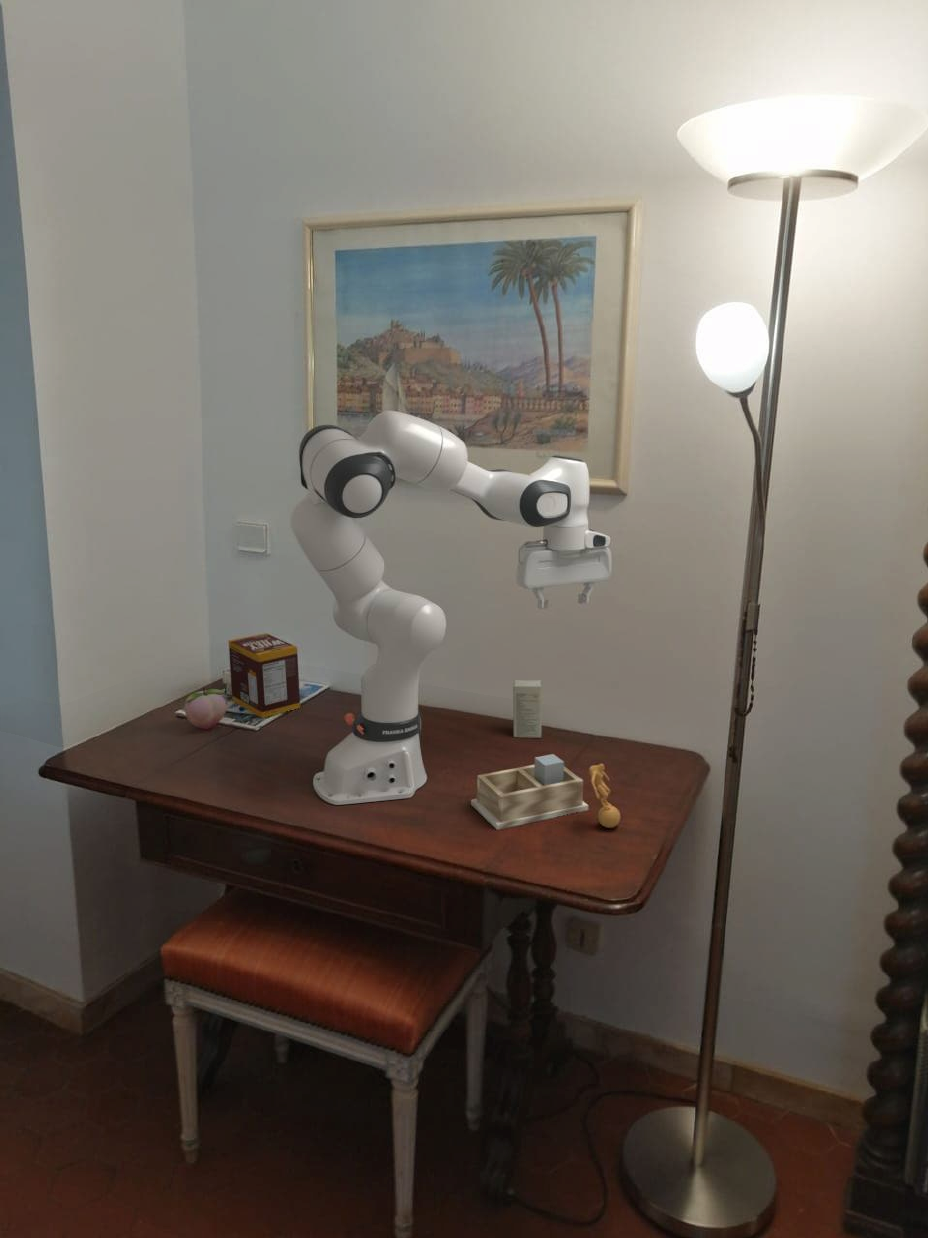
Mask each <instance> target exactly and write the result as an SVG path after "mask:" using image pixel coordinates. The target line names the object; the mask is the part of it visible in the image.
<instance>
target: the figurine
mask: <svg viewBox="0 0 928 1238" xmlns="http://www.w3.org/2000/svg"><path fill="white" fill-rule="evenodd" d="M605 769H606V768H605V765H604V764H603V763H599V764H597V765H591V766H590V767H589V768H588V772H589V775H590V777H591V779H590V783H591V786H592V788H593V790H594V792H595V796H596V799H597V800H600V804H601V805H602V807H601V808H600V809H599V811H598V813H597V819H598V820H597V821H598V822H599V824H601V826H602V827H605V828H608V829H611V828H615V827H616V826H617V825H618V824H619V823H620V821H621V813H620V810H619V809H618V808H617V807H615V806H613V805H612V803H610V802H608V800H607V799H608V798H609V795H610V793H611V790H610V788H609V787H608V786H607V785H606V783H605V782H604V780H603V778H604V777H605V778H606V780H607V781H608V782H609V781H610V778H609V776H608V775H607V774H606V772H605V771H604V770H605ZM601 795H602V797H601Z"/></svg>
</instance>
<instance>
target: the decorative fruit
mask: <svg viewBox="0 0 928 1238" xmlns="http://www.w3.org/2000/svg"><path fill="white" fill-rule="evenodd" d="M221 694H226V692H224V691H223V690H222V689H217V688H210V689H207V690H205V687H202V690H201V691H196V692H194V693H192V694H190V695H188V697H187V698H186V699H185V700H184V713H185V716H186V718H187V720H188V721H189V723H191V725H192V726H194V727H196V728H199V729H203V730H209V729H211V728H213V727H214V726H216V725H217V724H219V722H220V721H221V720H222V719H223V718H224V717H225V714H226V712H227V709H228V708H227V701H226V699H225V697H223V695H221Z"/></svg>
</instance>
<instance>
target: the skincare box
mask: <svg viewBox="0 0 928 1238" xmlns="http://www.w3.org/2000/svg"><path fill="white" fill-rule="evenodd" d="M542 686H543V685H542V680H538V679H536V680H535V679H533V680H532V679H514V681H513V685H512V687H513V688H512V690H513V693H512V698H513V699H512V700H513V704H512V705H513V707H512V709H513V737H514V738H535V739H537V738H542V726H543V725H542V723H543V721H542V715H543V714H542V712H543V710H542V707H543V706H542V705H543V704H542V700H543V699H542V698H543V697H542V694H543V692H542Z"/></svg>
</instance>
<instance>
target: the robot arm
mask: <svg viewBox="0 0 928 1238" xmlns="http://www.w3.org/2000/svg"><path fill="white" fill-rule="evenodd" d="M467 449H468V448H467V446H466V444H465V442H464V441H463V440H462V439H461V438H459V437H458V436H457V435H455V434H454V433H452V432H450V431H449V430H448V429H446V428H444V427H443V426H440V425H438V424H435V423H433V422H431V421H429V420H427V419H424V418H422V417H418V416H415V415H411V414H409V413H405V412H401V411H395V410H385V411H382V412H380V413H378V414H376V415H375V416H374V417H373V418H372V419H371V420H370V422H369V424H368V425H367V428H366V430H365V432H364V433H363V434H362V435H359V436H357V437H356V438H355V437H354V436H353V435H352V434H351V433H350V431H348V430H346V429H344V428H342V427H341V426H337V425H333V424H322V425H318V426H315V427H313V428H311V429H310V430H309V431H307V432H306V433H305V434H304V436H303V438H302V440H301V442H300V443H299V449H298V450H299V451H298V461H299V467H300V483H301V486H302V487H303V488H305V489H306V490H307V494H306V496H305V497H304V498H303V499H301V500H300V501H299V502H298V503H297V504H296V505H295V506H294V508H293V510H292V512H291V515H290V520H289V521H290V528H291V531H292V533H293V535H294V537H295V540H296V541H297V544H298V545H299V547H300V549H301V551H302V552H303V554H304V555H305V557H306V558H307V560H308V562H309V563H310V565H311V566H312V568H314V570H315V571H316V572H317V574H318V575H319V576H320V577H321V579H322V581H323V582H324V583H325V585H326V586H327V587H328V589H329V590H330V591H331V594H333V597H334V600H333V601H334V602H333V604H332V605H333V606H332V616H333V617H332V618H333V620H334V623H335V624H336V625H337V626H338V628H339V629H340V630H342V631H343V632H345V633H347V635H348V634H349V636H352V637H353V638H355V639H357V640H360V641H364V642H368V643H371V644H375V645H376V647H377V649H378V652H377V658H376V662H375V663H373V664H372V665H370V666H369V667H368V668H367V669H365V671H364V672H363V674H362V675H361V678H360V683H361V684H360V688H361V692H360V693H361V696H360V698H361V711H360V713H359V714H358V715H357V716H355V715H354V714H353V713H352V712H348V713H346V714H345V716H344V721H345V723H347V724H348V725H349V726H352V732H351V733H350V734H348V735H347V736H346V737H345V738H344V739H342V740H341V741H340V742H339V743H338V744H336V746H334V747H333V748H331V749H330V750H329V751H328V753H327V755H326V758H325V760H324V768H323V771H320V772H317V773H315V775H314V776H313V778H312V779H313V780H312V786H313V789H314V791H315V792H316V794H317V795H318V797H320V798H321V799H322V800H323V801H325V802H327V803H329V804H332V805H335V806H342V805H350V804H351V805H352V804H361V803H363V804H364V803H371V802H381V801H390V800H392V801H393V800H401V799H410V798H412V797H413V796H414V794H415V793H416V791H417V790H419V788H421V787H422V786H424V785H425V784H426V782H427V780H428V775H427V773H426V769H425V766H424V762H423V757H422V750H421V743H420V739H421V736H422V735H421V734H422V733H421V731H422V720H421V711H420V710H419V683H420V682H419V680H420V673H421V670H422V667H423V664H424V662H425V660H426V659H427V656H429V654H431V653H432V652H434V651H435V650H436V649H437V648H438V647H439V646H440V645H441V644H442V642H443V640H444V638H445V634H446V630H447V619H446V614H445V612H444V611H443V609H442V608H441V606H439V605H438V604H436V603H434V602H432V601H431V600H429V599H427V598H425V597H423V596H421V595H417V594H413V593H409V592H404V591H400V590H397V589H394V588H392V587H390V586H389V585H387V584H386V583H385V582H384V580H383V579H382V578H383V576H384V573H385V572H384V571H385V562H384V559H383V558H384V557H382V555H381V554H380V552H379V551H378V550H377V548H376V546H375V545H374V543H373V542H372V540H371V539H370V538H369V536H367V533H366V532H365V531H364V528H363V527H362V526H361V525H360V524H359V522H358V520H357V519H362V518H365V517H368V516H370V515H372V514H373V513H375V512H376V511H377V510H378V509H379V508H380V507H381V506H382V505H383V503H384V502H385V500H386V498H387V496H388V494H389V492H390V490H392V488H393V487H394V486H395V485H396V484H395V483H396V478H398V479H402V480H404V481H405V482H408V483H411V484H413V485H415V486H419V487H421V488H424V489H428V490H432V491H437V492H448V491H453V492H455V493H457V494H459V495H462V496H464V497H465V498H468V499H470V500H471V501H472V502H474V503H475V504H476V505H477V506H478V508H479V509H480V510H481V511H482V512H483V513H484V514H485V516H487V517H488V518H490V519H492V520H496V521H502V522H508V523H513V524H516V525H521V526H525V527H530V528H541V527H543V528H542V529H543V530H542V532H543V535H542V540H533V541H531V540H530V541H529V540H528V541H525V542H524V543H523V544H522V545H520V547H519V548H518V550H517V551H518V552H517V560H518V563H517V568H516V569H517V570H516V578H515V580H516V584H517V585H518V586H519V587H521V588H522V589H525V590H530V589H532V592H533V594H534V596H535V598H536V600H537V608H538V609H539V610H545V609H548V608H549V599H547V598H544V596H543V594H542V593H544V592H545V588H550V587H559V586H560V587H561V586H568V585H569V586H571V585H577V584H578V585H579V584H583V587H584V589H583V590H582V593H579V594H577V595H578V601H577V602H578V604H581V605H585V604H586V605H587V604H589V603H590V596H591V595H592V592H593V591H594V588H595V584H596V583H597V582H605V581H606V582H607V581H608V580H609V578H610V577H611V576H612V553H611V550H610V548H609V546H610V543H611V537H610V536H609V535H606V534H604V533H602V532H598V531H596V530H594V529H591V528H590V529H589V519H588V515H587V514H588V513H587V511H588V507H589V504H590V489H591V488H590V486H591V485H590V474H589V473H590V472H589V469H588V465H587V463H586V462H585V461H583V460H582V459H581V458H575V457H570V456H562V455H551V456H549V458H548V460H547V461H546V462H545V463H544V464H543V465H542V466H541V467H540V468H538V469H537V470H535V471H534V472H531V473H528V474H525V473H521V472H515V471H513V470H512V471H510V470H507V469H501V468H500V469H499V468H498V469H489V470H486V469H485V468H483V467H481V466H479V465H476V464H474V463H472V462H470V461H468V459H469V457H468V456H469V455H468V450H467ZM392 477H393V478H392Z"/></svg>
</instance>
